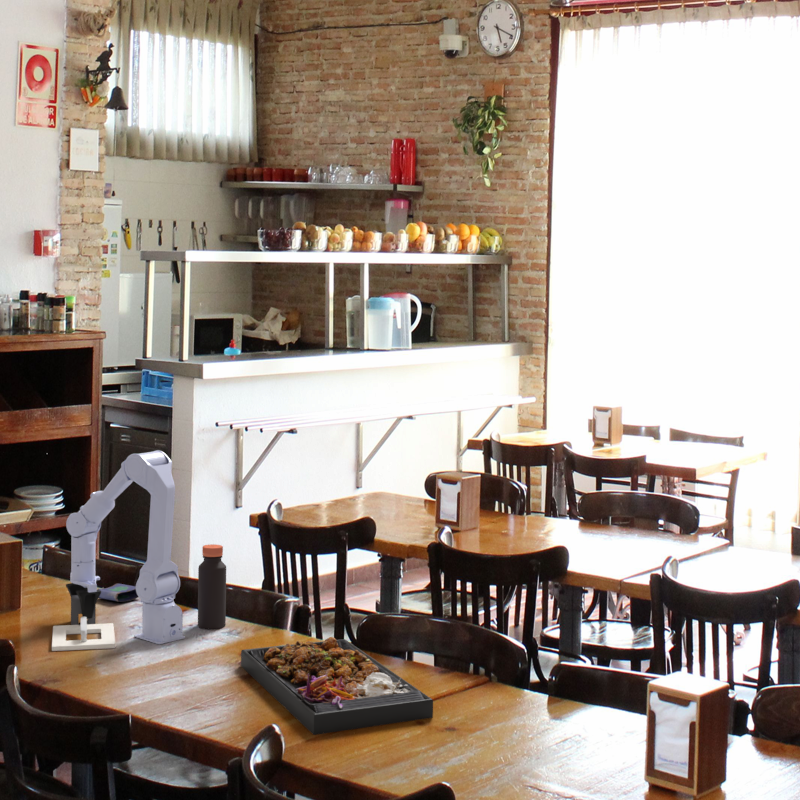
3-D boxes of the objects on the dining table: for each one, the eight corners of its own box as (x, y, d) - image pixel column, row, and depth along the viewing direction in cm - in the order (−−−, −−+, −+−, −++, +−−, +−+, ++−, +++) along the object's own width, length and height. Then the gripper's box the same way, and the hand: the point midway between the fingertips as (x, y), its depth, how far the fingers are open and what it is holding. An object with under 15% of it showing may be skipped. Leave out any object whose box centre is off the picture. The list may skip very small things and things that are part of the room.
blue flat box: (116, 593, 312) (89, 589, 319) (117, 604, 313) (90, 600, 319) (143, 585, 320) (116, 581, 326) (144, 596, 320) (116, 592, 326)
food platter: (432, 721, 233) (433, 669, 232) (313, 738, 222) (314, 683, 222) (345, 658, 273) (345, 613, 273) (240, 669, 263) (241, 623, 262)
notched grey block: (95, 620, 298) (95, 594, 298) (95, 625, 293) (95, 599, 293) (70, 621, 297) (71, 595, 296) (70, 626, 292) (70, 600, 291)
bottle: (223, 630, 291) (224, 549, 290) (195, 630, 291) (196, 548, 290) (227, 623, 298) (228, 544, 297) (200, 622, 298) (201, 543, 297)
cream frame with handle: (115, 647, 275) (115, 632, 275) (51, 651, 271) (51, 635, 271) (113, 627, 292) (113, 612, 292) (53, 629, 288) (53, 615, 288)
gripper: (109, 564, 290) (108, 620, 291) (89, 553, 302) (89, 606, 303) (80, 567, 286) (80, 623, 287) (62, 556, 298) (61, 609, 299)
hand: (83, 615), depth 295 cm, fingers closed on notched grey block, 6 cm apart
